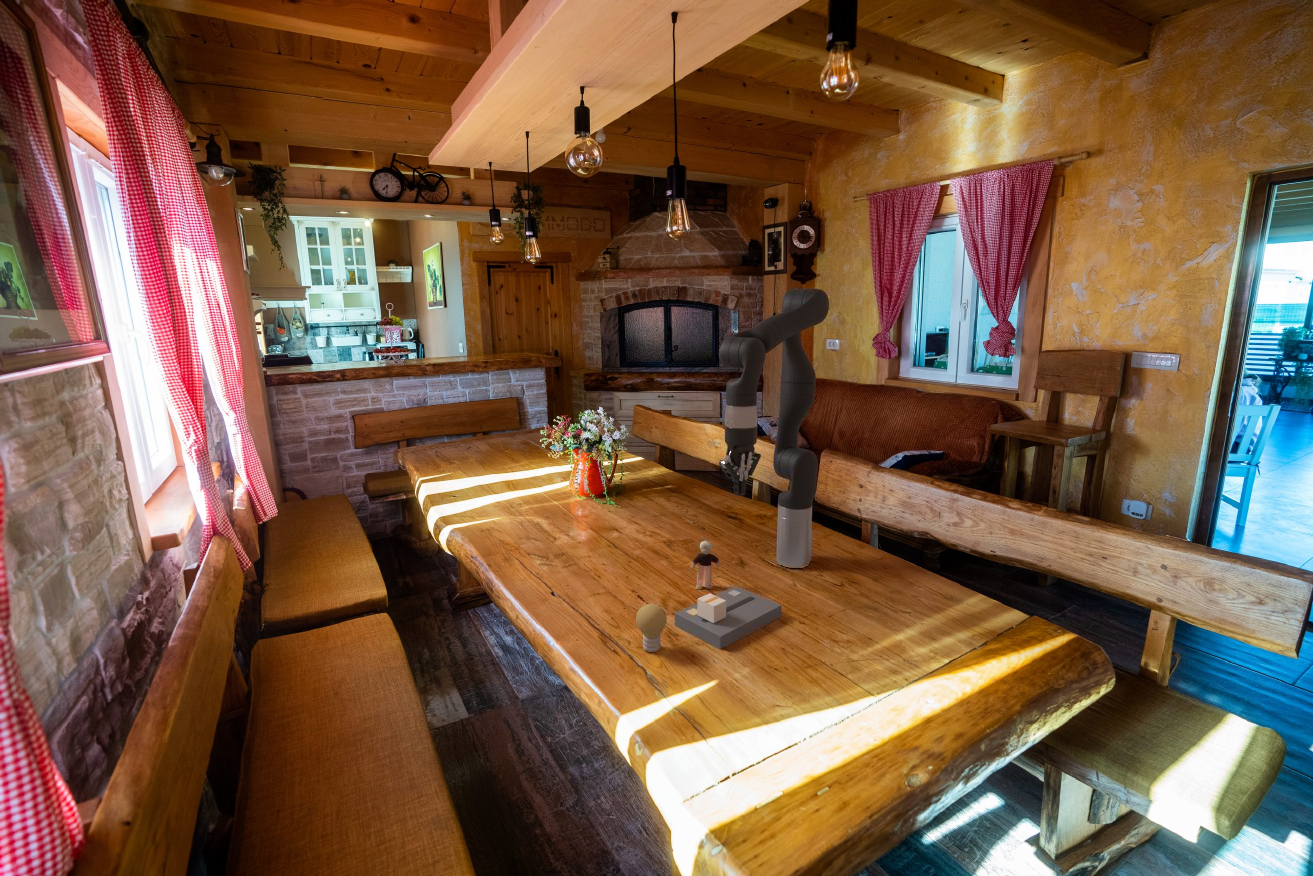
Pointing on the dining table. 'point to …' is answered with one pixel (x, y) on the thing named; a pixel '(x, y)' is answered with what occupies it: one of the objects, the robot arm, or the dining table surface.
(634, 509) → the dining table surface
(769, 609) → the fader console
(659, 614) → the light bulb
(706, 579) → the grandmother figurine
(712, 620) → the fader knob
